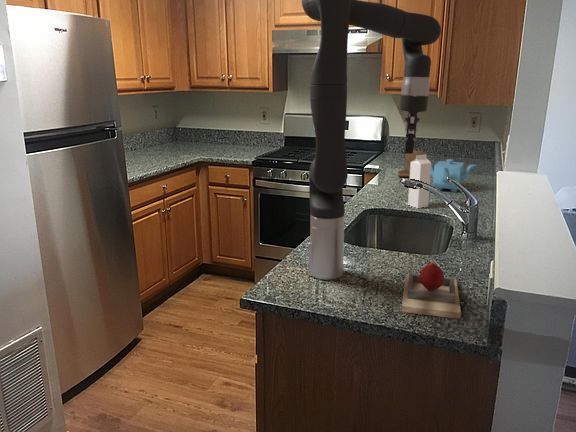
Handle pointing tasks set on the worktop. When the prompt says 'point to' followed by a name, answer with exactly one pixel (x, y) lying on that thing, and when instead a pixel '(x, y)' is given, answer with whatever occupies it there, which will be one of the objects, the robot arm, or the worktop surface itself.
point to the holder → (431, 298)
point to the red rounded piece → (431, 276)
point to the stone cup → (408, 161)
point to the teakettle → (449, 174)
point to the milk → (421, 172)
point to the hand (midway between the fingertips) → (409, 151)
